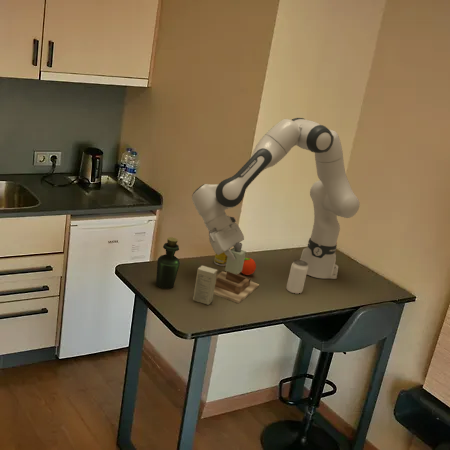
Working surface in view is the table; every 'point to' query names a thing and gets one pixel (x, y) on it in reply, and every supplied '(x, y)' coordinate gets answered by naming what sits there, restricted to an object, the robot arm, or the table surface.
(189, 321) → the table surface
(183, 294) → the table surface
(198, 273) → the skincare box
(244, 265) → the clementine
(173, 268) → the potion bottle
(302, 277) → the can
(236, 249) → the sage bottle
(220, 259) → the supplement bottle
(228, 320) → the table surface
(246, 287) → the u rest
